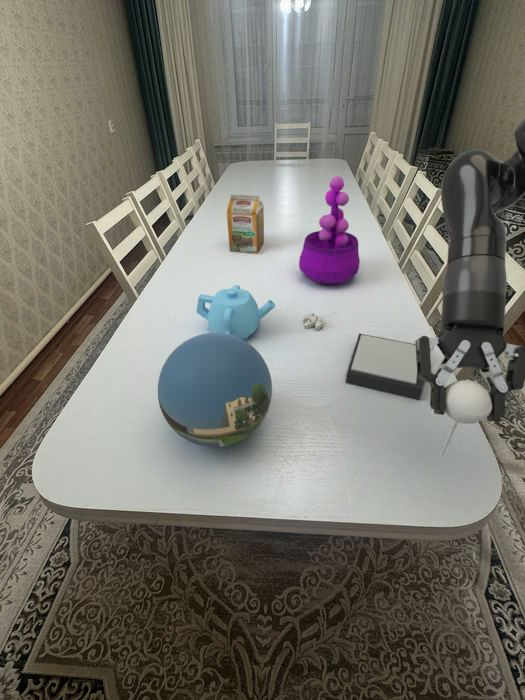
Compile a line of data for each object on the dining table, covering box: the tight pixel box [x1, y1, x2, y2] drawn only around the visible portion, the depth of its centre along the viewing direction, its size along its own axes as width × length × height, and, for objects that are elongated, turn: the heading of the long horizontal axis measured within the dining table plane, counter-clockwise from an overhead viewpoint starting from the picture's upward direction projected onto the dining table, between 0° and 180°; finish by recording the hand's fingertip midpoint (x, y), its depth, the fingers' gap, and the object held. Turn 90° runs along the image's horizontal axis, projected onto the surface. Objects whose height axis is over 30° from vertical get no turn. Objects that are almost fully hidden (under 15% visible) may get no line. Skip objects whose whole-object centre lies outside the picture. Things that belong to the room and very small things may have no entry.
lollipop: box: [439, 379, 492, 457], centre depth 51 cm, size 6×6×15 cm
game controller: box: [302, 311, 335, 331], centre depth 96 cm, size 6×12×3 cm, turn 145°
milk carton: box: [226, 193, 265, 255], centre depth 131 cm, size 11×11×19 cm
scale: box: [345, 333, 426, 401], centre depth 79 cm, size 16×15×4 cm
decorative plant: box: [298, 176, 360, 284], centre depth 107 cm, size 19×18×30 cm
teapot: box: [196, 284, 276, 341], centre depth 90 cm, size 20×17×12 cm
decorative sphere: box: [157, 332, 273, 448], centre depth 63 cm, size 20×20×20 cm
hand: (465, 417), depth 48 cm, fingers closed on lollipop, 6 cm apart
